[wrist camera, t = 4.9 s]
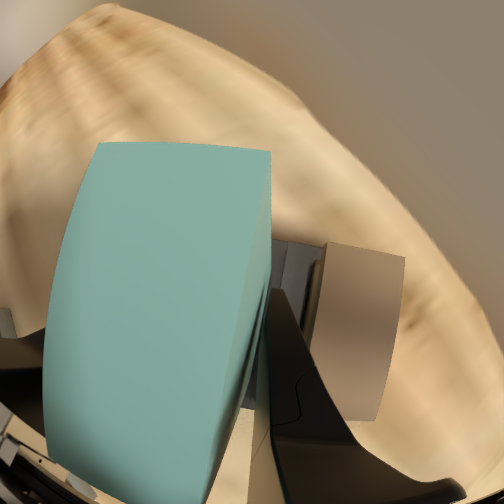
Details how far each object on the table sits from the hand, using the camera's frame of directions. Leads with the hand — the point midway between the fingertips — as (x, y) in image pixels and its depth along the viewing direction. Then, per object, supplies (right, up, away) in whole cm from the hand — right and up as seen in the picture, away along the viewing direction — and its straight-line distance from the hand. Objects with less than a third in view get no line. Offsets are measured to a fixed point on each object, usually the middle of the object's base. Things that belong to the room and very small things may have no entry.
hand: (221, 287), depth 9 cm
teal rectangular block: (0, -3, +6) cm, 6 cm away
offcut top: (+6, -3, +3) cm, 7 cm away
